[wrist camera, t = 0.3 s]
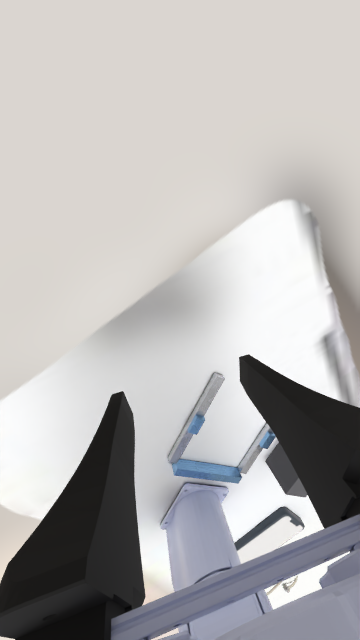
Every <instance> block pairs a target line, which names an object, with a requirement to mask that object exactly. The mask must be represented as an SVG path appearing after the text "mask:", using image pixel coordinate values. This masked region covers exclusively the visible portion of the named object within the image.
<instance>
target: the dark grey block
mask: <svg viewBox="0 0 360 640" xmlns="http://www.w3.org/2000/svg"><path fill="white" fill-rule="evenodd" d="M265 462H266V463H267V465H268V466H269V468H270V470H271V471H272V473H273V474H274V476H275V478H276V479H277V481H278V483H279V484H280V486H281V487H282V489H283V491H284V492H285V494H287V495H293V496H300V497H306V496H307V495H308V494H307V492H306V490H305V488H304V486H303V485H302V483H301V481H300V479H299V477H298V475H297V473H296V471H295V469H294V468H293V466H292V464H291V462H290V460H289V459H288V457H287V455H286V453H285V451H284V450H283V448H282V446H281V444H280V443H278V445H277V446H276V447H275V449H274V450H273V451H272V453H271V454H270V456H269V457H268V458H267V460H266V461H265Z"/></svg>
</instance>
